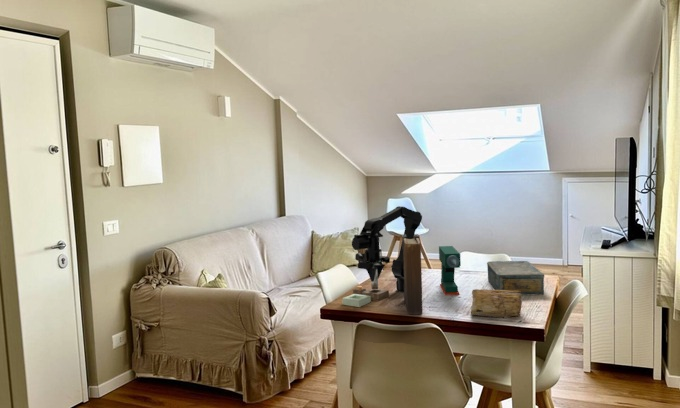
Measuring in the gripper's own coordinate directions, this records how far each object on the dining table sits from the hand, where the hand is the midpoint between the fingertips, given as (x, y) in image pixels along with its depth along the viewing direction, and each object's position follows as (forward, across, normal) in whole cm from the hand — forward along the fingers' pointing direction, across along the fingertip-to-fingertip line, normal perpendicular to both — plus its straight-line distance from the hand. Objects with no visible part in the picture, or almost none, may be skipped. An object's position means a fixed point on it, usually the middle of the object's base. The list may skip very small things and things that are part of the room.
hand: (374, 280), depth 253 cm
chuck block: (+8, 0, 0) cm, 8 cm away
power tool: (+8, -23, +28) cm, 37 cm away
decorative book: (+8, +6, +24) cm, 26 cm away
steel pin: (+4, 0, 0) cm, 4 cm away
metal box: (+8, -49, +48) cm, 69 cm away
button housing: (+8, 0, -9) cm, 12 cm away
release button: (+7, 0, -9) cm, 12 cm away
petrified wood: (+8, -1, +58) cm, 58 cm away
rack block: (+8, +13, -2) cm, 15 cm away
